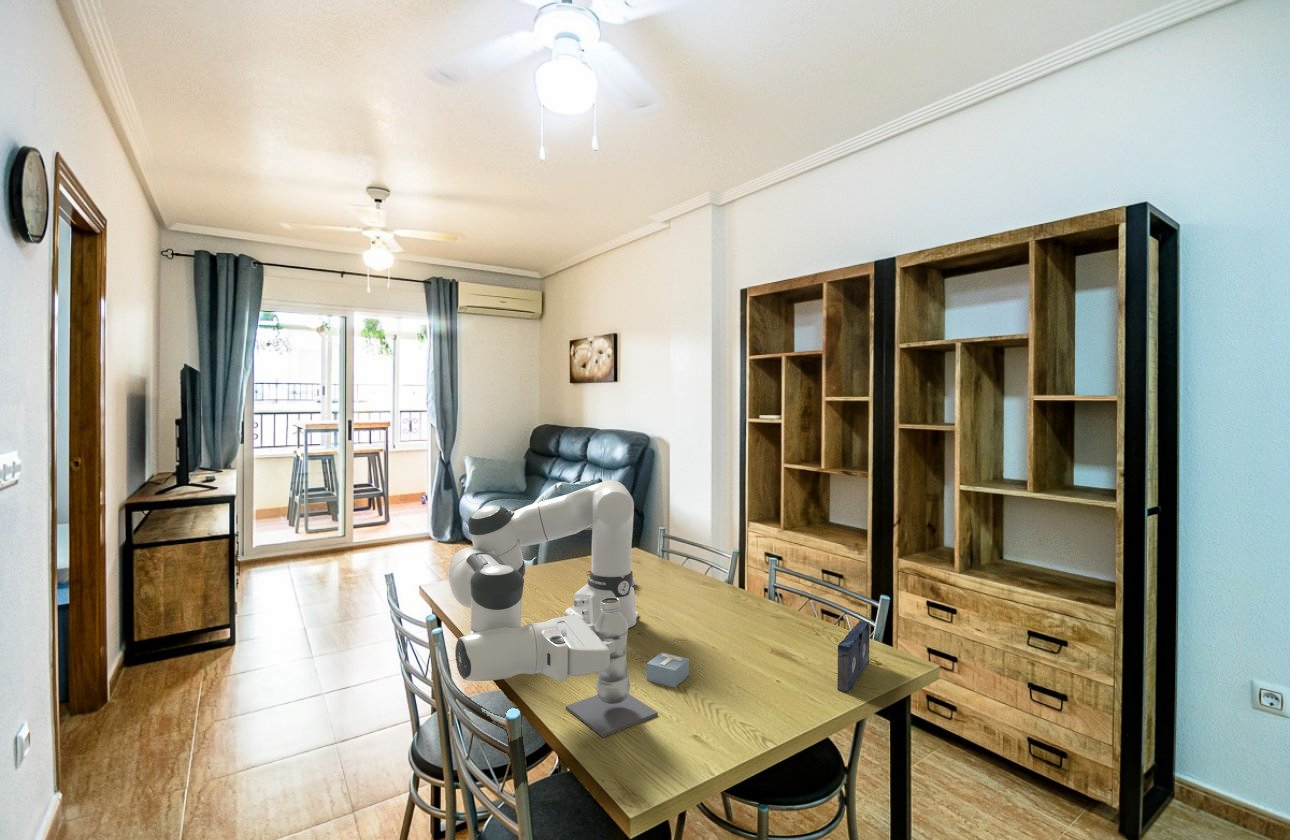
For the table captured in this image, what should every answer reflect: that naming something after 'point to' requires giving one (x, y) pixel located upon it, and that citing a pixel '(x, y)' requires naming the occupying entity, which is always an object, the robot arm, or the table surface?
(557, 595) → the table surface
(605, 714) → the charcoal mat
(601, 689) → the plastic bottle
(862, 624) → the vhs cassette tape
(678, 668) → the letter block
